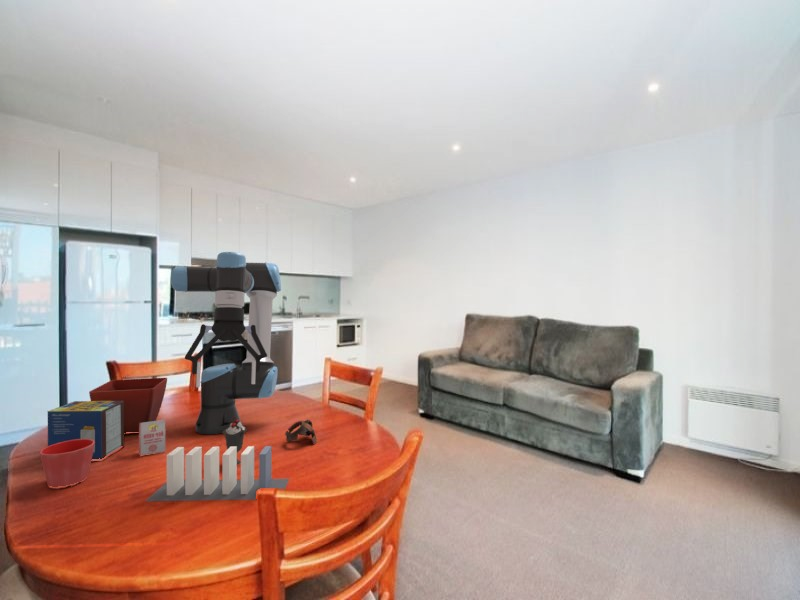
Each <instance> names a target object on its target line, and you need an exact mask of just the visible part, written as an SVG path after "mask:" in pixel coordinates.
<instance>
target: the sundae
mask: <svg viewBox="0 0 800 600" xmlns="http://www.w3.org/2000/svg"><path fill="white" fill-rule="evenodd" d="M235 417H236V416H235ZM235 417H234V418H235ZM243 425H244V424H243V422H242V421H241V420H240V421H238V420H237V419H235V421H234V419H233V422H232V423H231V424H230V426H229V427H228V428H227V429H225V430H224V431H223V432H222V433H221V434H223V435H224V437H225V445H226V451H227V450H228V449H229V448H230V447H231V446H237V454H238V452H240V450H242V449H243V444H244V436H245V433H247V431H248V428H247V427H245V425H244V426H243ZM239 464H240V465H241V460H238V458H237V466H238V465H239Z"/></svg>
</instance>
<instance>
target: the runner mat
mask: <svg viewBox="0 0 800 600" xmlns="http://www.w3.org/2000/svg"><path fill="white" fill-rule="evenodd" d="M289 481H290V478H271V485H270V487H269V488H278V489H284V491H285V489H286V487H287V485H288V483H289ZM258 489H259V478H254V485H253V486H252V488H251V489H250V491H249V492H248V494H241V478H240V479H238V478H237V484H236V486H235V487H234V488H233V490H232V491H231V492H230V494H222V479H219V485H218V486H217V488H216V489H215V490H214V491H213V492H212V493H211V495H204V479H202V485H201V486H200V487H199V488H198V489H197V490H196V491H195V492H194V493H193V494H192V495H185V479H184V485H183V486H182V487H181V488H180V489H179V490H178V491H177V492H176V493H175V494H174V495H167V481H166V482H165V483H163V485H162V486H161V487H159V489H157V490H156V491H155V492H153V494H151V495H150V496H149V497H148V498H146V500H145V501H144V502H183V501H185V502H187V501H189V502H192V501H202V502H203V501H241V500H242V501H246V500H247V501H250V500H252V501H253V500H256V491H257V490H258ZM256 501H257V500H256Z"/></svg>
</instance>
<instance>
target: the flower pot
mask: <svg viewBox="0 0 800 600" xmlns="http://www.w3.org/2000/svg"><path fill="white" fill-rule="evenodd" d="M94 445H95V441H94V440H91V439H76V440H69V441H64V442H60V443H57V444H53V445H50V446H48V445H47V446H45V447H44V448H42V449H41V450H40V451H39V457H40V461H41V464H42V469H43V473H44V476H45V480H46V484H47V486H48V485H49V486H52V487H58V486H66V485H70V484H74V483H77V482H80V481H82V480H84V479H85V478H86V477H87V478H88V476H89V471H90V467H91V463H92V462H91V460H92V455H93V450H94ZM84 481H85V480H84Z"/></svg>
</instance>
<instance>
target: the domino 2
mask: <svg viewBox="0 0 800 600" xmlns="http://www.w3.org/2000/svg"><path fill="white" fill-rule="evenodd" d="M202 448H203V446H195V447H193V448H192V449H191V450H189V452H187V453H186V454H184V480H185V495H192V494H193V493H194V492H195V491H196V490H197V489H198V488H199V487H200V486H201V485H202V480H203V478H202V476H203V475H202V473H203V472H202V470H203V468H202V467H203V466H202V463H203V462H202V461H203V457H202V453H203V450H202Z"/></svg>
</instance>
